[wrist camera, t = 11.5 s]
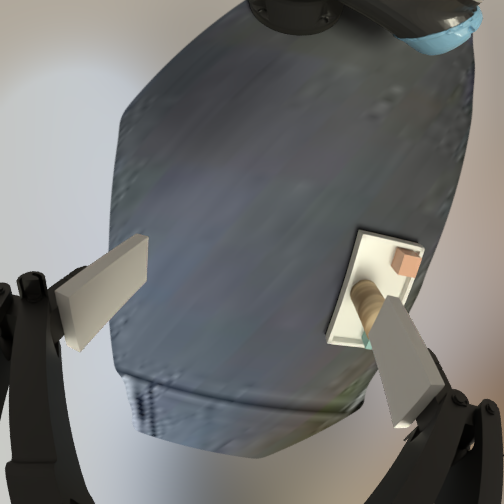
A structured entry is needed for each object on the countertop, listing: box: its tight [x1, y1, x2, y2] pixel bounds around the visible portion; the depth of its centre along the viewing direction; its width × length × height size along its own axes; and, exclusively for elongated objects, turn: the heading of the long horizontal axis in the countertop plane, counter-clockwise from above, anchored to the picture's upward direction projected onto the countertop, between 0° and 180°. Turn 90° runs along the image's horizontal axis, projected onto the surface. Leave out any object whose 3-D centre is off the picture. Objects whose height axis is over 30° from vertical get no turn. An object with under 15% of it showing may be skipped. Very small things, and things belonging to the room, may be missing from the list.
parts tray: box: [325, 230, 425, 348], centre depth 45 cm, size 21×12×2 cm, turn 171°
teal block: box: [361, 331, 372, 349], centre depth 46 cm, size 4×4×4 cm
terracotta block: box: [391, 247, 422, 278], centre depth 41 cm, size 4×4×4 cm
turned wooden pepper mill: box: [350, 280, 385, 339], centre depth 40 cm, size 5×5×11 cm
